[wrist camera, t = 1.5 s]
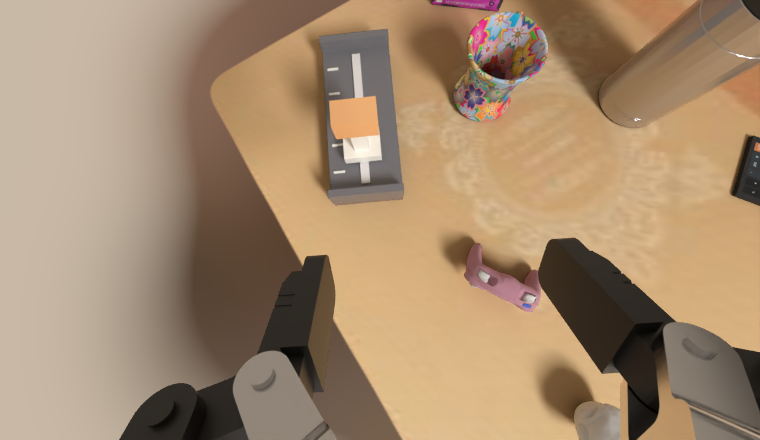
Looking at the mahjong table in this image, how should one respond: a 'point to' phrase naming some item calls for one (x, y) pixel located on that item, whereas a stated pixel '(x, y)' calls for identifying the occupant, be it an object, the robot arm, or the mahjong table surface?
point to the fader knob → (357, 128)
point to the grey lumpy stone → (597, 421)
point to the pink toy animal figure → (502, 282)
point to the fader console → (373, 78)
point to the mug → (498, 63)
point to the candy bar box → (471, 4)
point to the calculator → (749, 173)
